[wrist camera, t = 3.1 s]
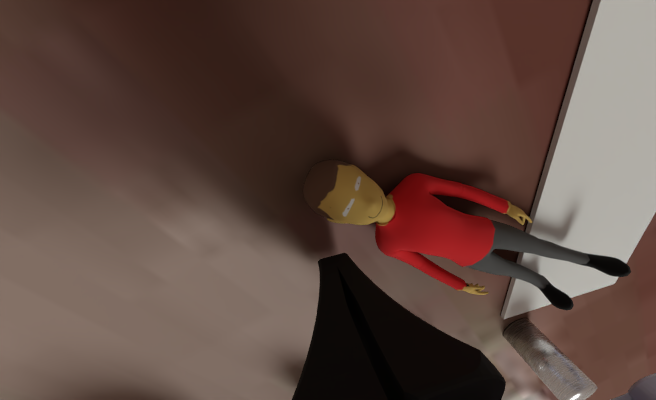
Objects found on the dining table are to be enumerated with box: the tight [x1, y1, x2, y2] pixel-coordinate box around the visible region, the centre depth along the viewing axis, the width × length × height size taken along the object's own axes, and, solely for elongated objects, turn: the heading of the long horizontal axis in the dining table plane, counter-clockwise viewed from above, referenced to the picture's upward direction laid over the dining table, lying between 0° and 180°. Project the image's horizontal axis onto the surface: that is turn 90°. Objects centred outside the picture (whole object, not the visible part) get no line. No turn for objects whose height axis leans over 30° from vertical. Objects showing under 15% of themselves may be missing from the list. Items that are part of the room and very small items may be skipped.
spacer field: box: [503, 318, 597, 400], centre depth 12 cm, size 18×27×5 cm
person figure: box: [303, 160, 631, 310], centre depth 13 cm, size 5×4×18 cm
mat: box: [501, 0, 656, 319], centre depth 16 cm, size 10×20×1 cm, turn 8°
